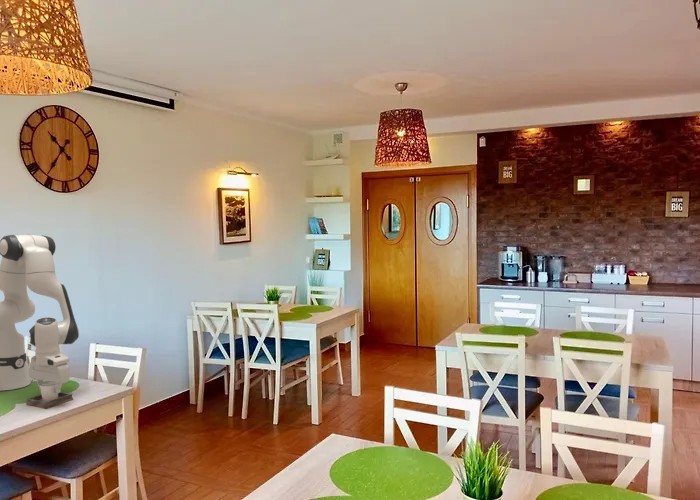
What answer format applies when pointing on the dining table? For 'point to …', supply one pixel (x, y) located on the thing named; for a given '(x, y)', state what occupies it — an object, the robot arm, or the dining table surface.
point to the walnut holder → (38, 401)
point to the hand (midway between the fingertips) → (49, 391)
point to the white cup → (48, 391)
